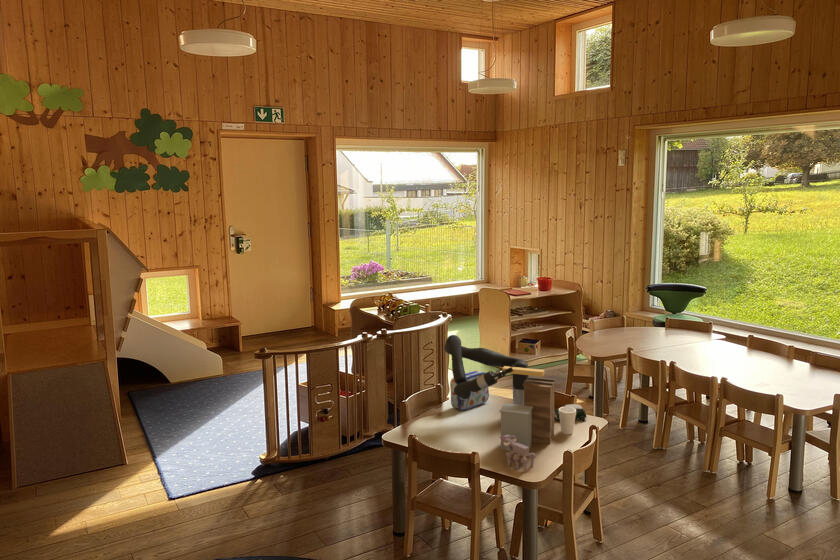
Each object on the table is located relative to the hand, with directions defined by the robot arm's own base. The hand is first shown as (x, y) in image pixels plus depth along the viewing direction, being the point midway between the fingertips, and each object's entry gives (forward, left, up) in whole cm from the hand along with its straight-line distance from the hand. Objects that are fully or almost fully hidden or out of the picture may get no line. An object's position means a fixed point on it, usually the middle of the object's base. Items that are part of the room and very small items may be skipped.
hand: (513, 367), depth 349 cm
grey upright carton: (+15, +5, -39) cm, 42 cm away
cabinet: (0, +14, -39) cm, 41 cm away
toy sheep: (+34, +9, -39) cm, 52 cm away
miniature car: (-33, +26, -39) cm, 57 cm away
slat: (0, +6, -3) cm, 6 cm away
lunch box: (-33, -36, -39) cm, 62 cm away
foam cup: (-13, +27, -39) cm, 49 cm away
